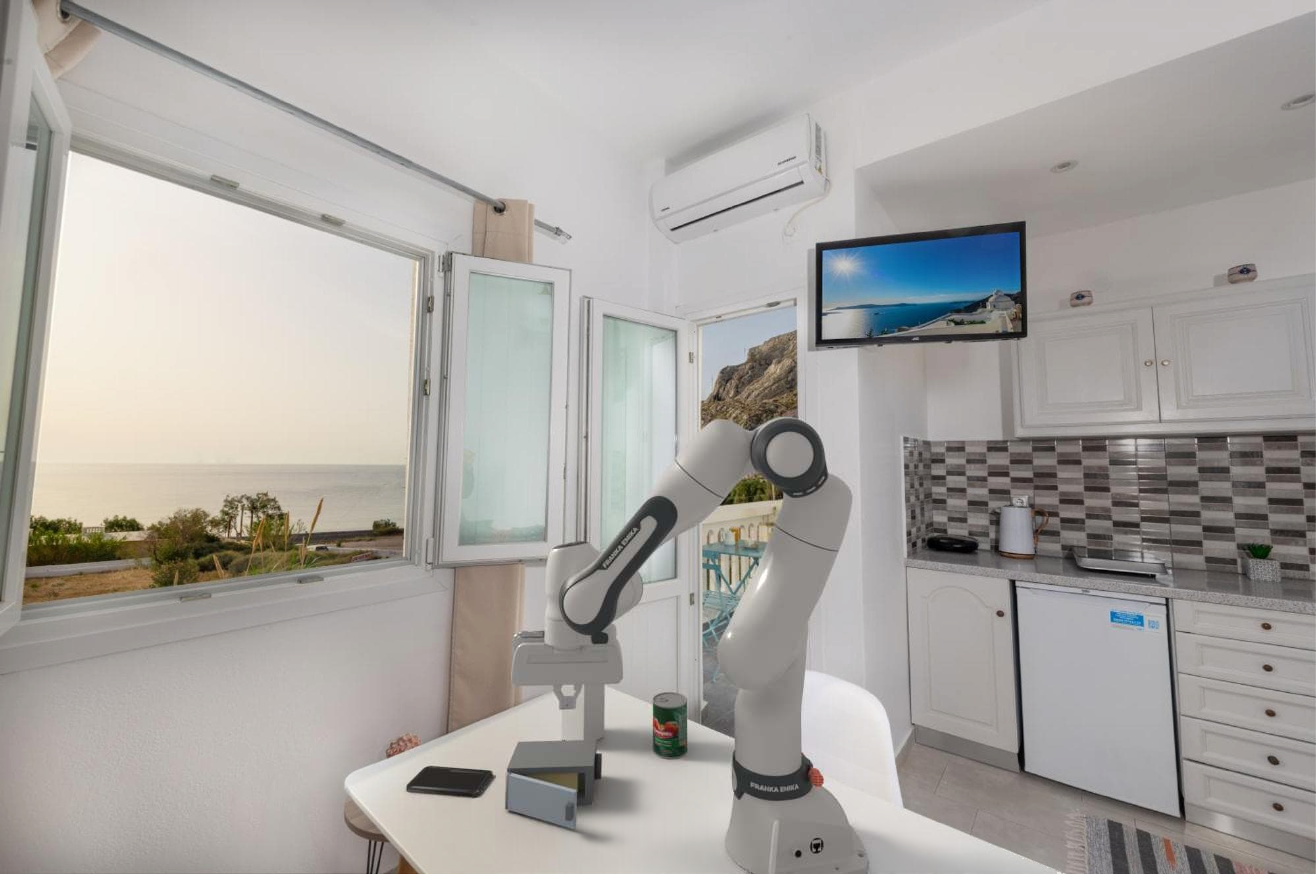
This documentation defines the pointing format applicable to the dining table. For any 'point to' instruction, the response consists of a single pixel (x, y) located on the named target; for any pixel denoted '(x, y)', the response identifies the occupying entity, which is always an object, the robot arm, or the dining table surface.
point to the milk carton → (584, 713)
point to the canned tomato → (670, 725)
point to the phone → (449, 781)
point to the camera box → (560, 765)
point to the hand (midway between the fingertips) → (567, 708)
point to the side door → (541, 800)
